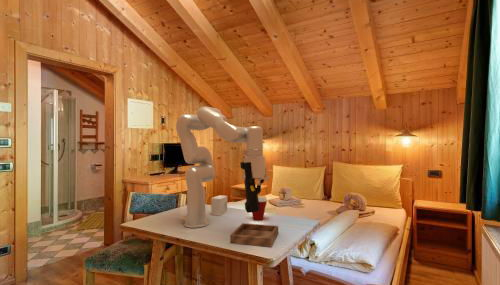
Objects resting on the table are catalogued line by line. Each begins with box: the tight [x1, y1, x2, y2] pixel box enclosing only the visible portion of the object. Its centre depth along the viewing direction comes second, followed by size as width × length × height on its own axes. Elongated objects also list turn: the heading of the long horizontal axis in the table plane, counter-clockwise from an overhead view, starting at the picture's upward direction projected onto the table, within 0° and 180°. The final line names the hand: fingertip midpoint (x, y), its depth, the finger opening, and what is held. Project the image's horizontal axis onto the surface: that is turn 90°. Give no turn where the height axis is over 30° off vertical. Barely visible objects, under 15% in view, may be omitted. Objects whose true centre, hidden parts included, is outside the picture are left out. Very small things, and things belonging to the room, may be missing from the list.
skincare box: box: [210, 194, 228, 216], centre depth 164 cm, size 10×6×10 cm, turn 159°
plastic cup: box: [251, 196, 269, 222], centre depth 150 cm, size 11×11×12 cm
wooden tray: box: [229, 222, 279, 248], centre depth 119 cm, size 18×18×4 cm
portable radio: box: [239, 161, 260, 214], centre depth 120 cm, size 8×6×25 cm
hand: (255, 193), depth 119 cm, fingers closed on portable radio, 2 cm apart
